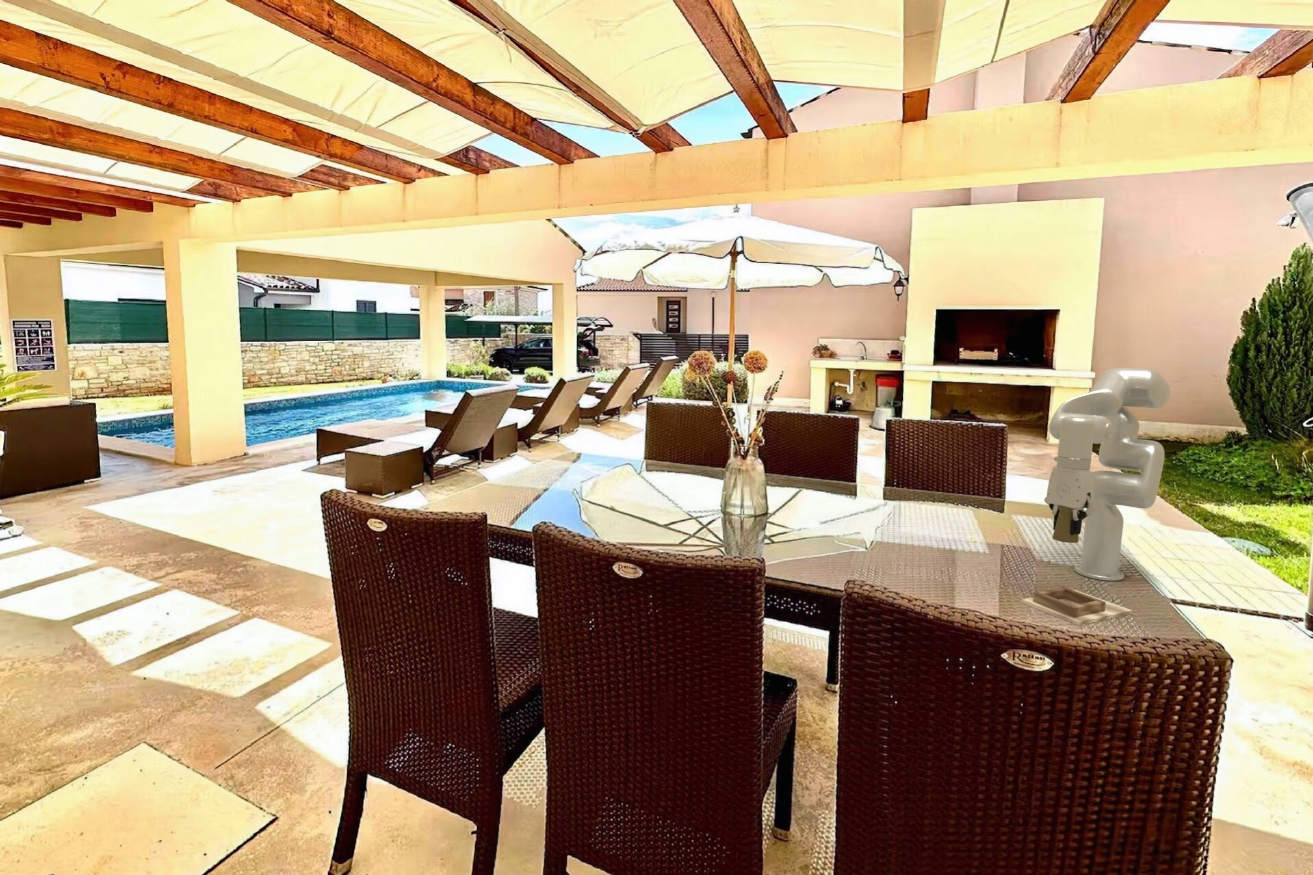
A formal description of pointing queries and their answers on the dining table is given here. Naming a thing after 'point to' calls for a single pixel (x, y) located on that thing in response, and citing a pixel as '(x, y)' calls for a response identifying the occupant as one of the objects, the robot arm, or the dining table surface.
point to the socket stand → (1075, 606)
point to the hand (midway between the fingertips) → (1066, 531)
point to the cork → (1064, 526)
